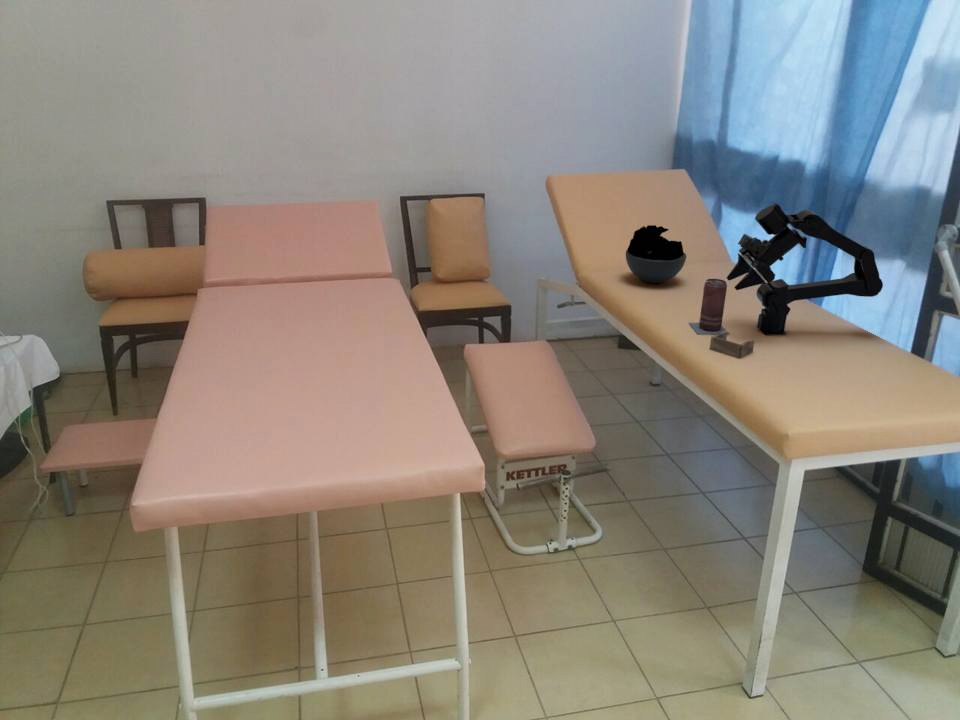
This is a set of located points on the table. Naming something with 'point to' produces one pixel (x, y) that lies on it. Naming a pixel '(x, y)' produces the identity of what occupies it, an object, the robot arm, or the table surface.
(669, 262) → the coal bowl
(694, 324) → the mat
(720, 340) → the bracket
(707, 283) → the can
